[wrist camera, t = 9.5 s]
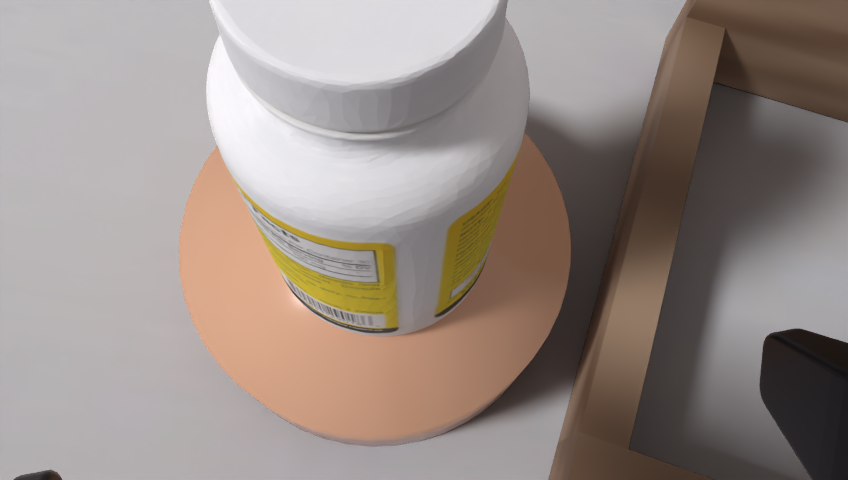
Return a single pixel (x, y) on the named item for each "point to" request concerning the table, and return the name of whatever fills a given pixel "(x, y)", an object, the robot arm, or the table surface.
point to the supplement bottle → (371, 146)
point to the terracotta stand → (371, 355)
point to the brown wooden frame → (665, 199)
